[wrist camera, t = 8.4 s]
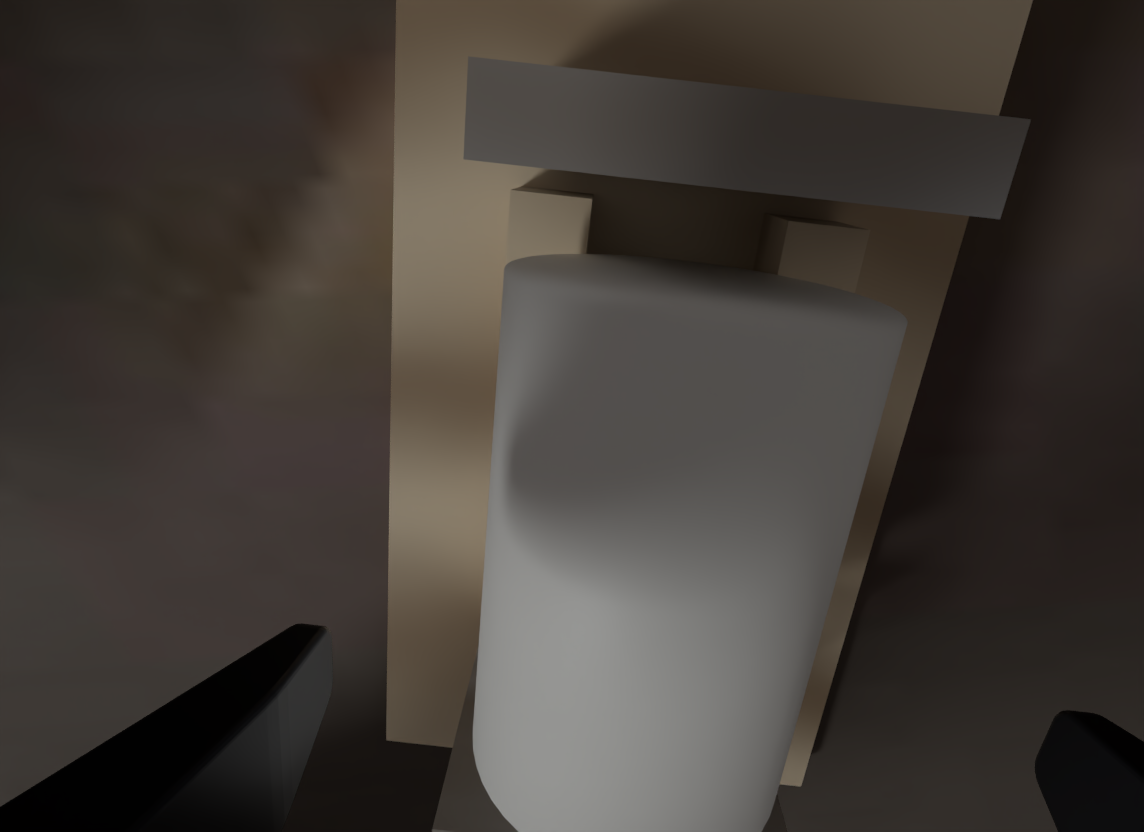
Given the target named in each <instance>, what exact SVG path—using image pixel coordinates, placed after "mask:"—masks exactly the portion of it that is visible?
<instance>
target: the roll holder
mask: <svg viewBox="0 0 1144 832" xmlns="http://www.w3.org/2000/svg"><path fill="white" fill-rule="evenodd" d="M1032 2H1033V0H396V59H395V132H394V205H393V277H392V350H391V423H390V496H389V569H388V642H387V715H386V740H387V741H396V742H405V743H414V744H423V745H432V746H441V747H450V748H452V752H451V756H450V760H449V764H448V768H447V772H446V776H445V780H444V784H443V788H442V792H441V796H440V800H439V804H438V808H437V812H436V816H435V820H434V824H433V828H432V832H518V831H517V830H516V829H515V828H514V827H513V826H512V825H511V824H510V823H509V822H508V821H507V820H506V819H505V817H504V816H503V815H502V814H501V812H500V811H499V810H498V808H497V807H496V806H495V804H494V803H493V801H492V800H491V798H490V796H489V795H488V793H487V791H486V789H485V787H484V785H483V783H482V781H481V778H480V775H479V773H478V770H477V767H476V763H475V757H474V752H473V720H474V705H475V690H476V676H477V661H478V646H479V632H480V617H481V602H482V588H483V573H484V558H485V544H486V529H487V514H488V500H489V485H490V470H491V455H492V441H493V426H494V411H495V397H496V382H497V367H498V353H499V338H500V323H501V309H502V294H503V279H504V268H505V266H506V264H508V263H509V262H511V261H513V260H516V259H520V258H524V257H530V256H538V255H549V254H611V255H628V256H642V257H654V258H665V259H674V260H683V261H692V262H700V263H708V264H715V265H722V266H729V267H735V268H742V269H748V270H754V271H760V272H765V273H770V274H776V275H781V276H786V277H791V278H796V279H800V280H805V281H809V282H814V283H818V284H822V285H826V286H830V287H834V288H838V289H841V290H845V291H848V292H852V293H855V294H858V295H861V296H864V297H867V298H870V299H873V300H875V301H878V302H881V303H883V304H885V305H887V306H890V307H892V308H894V309H895V310H897V311H899V312H900V313H902V314H903V315H904V316H905V317H906V319H907V321H908V324H907V327H906V331H905V334H904V338H903V342H902V345H901V349H900V352H899V356H898V360H897V363H896V367H895V370H894V374H893V378H892V381H891V385H890V388H889V392H888V396H887V399H886V403H885V406H884V410H883V414H882V417H881V421H880V424H879V428H878V432H877V435H876V439H875V442H874V446H873V450H872V453H871V457H870V460H869V464H868V468H867V471H866V475H865V478H864V482H863V486H862V489H861V493H860V496H859V500H858V504H857V507H856V511H855V514H854V518H853V522H852V525H851V529H850V532H849V536H848V540H847V543H846V547H845V550H844V554H843V558H842V561H841V565H840V568H839V572H838V576H837V579H836V583H835V586H834V590H833V594H832V597H831V601H830V604H829V608H828V612H827V615H826V619H825V622H824V626H823V630H822V633H821V637H820V640H819V644H818V648H817V651H816V655H815V658H814V662H813V666H812V669H811V673H810V676H809V680H808V684H807V687H806V691H805V694H804V698H803V702H802V705H801V709H800V712H799V716H798V720H797V723H796V727H795V730H794V734H793V738H792V741H791V745H790V748H789V752H788V756H787V759H786V763H785V766H784V770H783V774H782V777H781V781H780V784H782V785H791V786H800V787H801V785H802V782H803V778H804V775H805V771H806V768H807V765H808V761H809V758H810V754H811V751H812V748H813V744H814V741H815V737H816V734H817V731H818V727H819V724H820V721H821V717H822V714H823V710H824V707H825V704H826V700H827V697H828V693H829V690H830V687H831V683H832V680H833V676H834V673H835V670H836V666H837V663H838V660H839V656H840V653H841V649H842V646H843V643H844V639H845V636H846V632H847V629H848V626H849V622H850V619H851V615H852V612H853V609H854V605H855V602H856V598H857V595H858V592H859V588H860V585H861V582H862V578H863V575H864V571H865V568H866V565H867V561H868V558H869V554H870V551H871V548H872V544H873V541H874V537H875V534H876V531H877V527H878V524H879V521H880V517H881V514H882V510H883V507H884V504H885V500H886V497H887V493H888V490H889V487H890V483H891V480H892V476H893V473H894V470H895V466H896V463H897V460H898V456H899V453H900V449H901V446H902V443H903V439H904V436H905V432H906V429H907V426H908V422H909V419H910V415H911V412H912V409H913V405H914V402H915V399H916V395H917V392H918V388H919V385H920V382H921V378H922V375H923V371H924V368H925V365H926V361H927V358H928V354H929V351H930V348H931V344H932V341H933V337H934V334H935V331H936V327H937V324H938V321H939V317H940V314H941V310H942V307H943V304H944V300H945V297H946V293H947V290H948V287H949V283H950V280H951V276H952V273H953V270H954V266H955V263H956V260H957V256H958V253H959V249H960V246H961V243H962V239H963V236H964V232H965V229H966V226H967V222H968V219H969V216H974V217H983V218H992V219H1000V218H1001V215H1002V212H1003V208H1004V205H1005V202H1006V199H1007V196H1008V192H1009V189H1010V186H1011V183H1012V179H1013V176H1014V173H1015V170H1016V167H1017V163H1018V160H1019V157H1020V154H1021V150H1022V147H1023V144H1024V141H1025V138H1026V134H1027V131H1028V128H1029V125H1030V121H1031V119H1024V118H1015V117H1006V116H999V114H1000V110H1001V107H1002V104H1003V100H1004V97H1005V93H1006V90H1007V87H1008V83H1009V80H1010V76H1011V73H1012V70H1013V66H1014V63H1015V60H1016V56H1017V53H1018V49H1019V46H1020V43H1021V39H1022V36H1023V32H1024V29H1025V26H1026V22H1027V19H1028V15H1029V12H1030V9H1031V5H1032ZM762 832H787V828H786V825H785V821H784V817H783V814H782V810H781V807H780V803H779V800H778V796H777V795H776V799H775V802H774V805H773V808H772V811H771V814H770V817H769V819H768V821H767V823H766V824H765V826H764V828H763V830H762Z"/></svg>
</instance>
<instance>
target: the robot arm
mask: <svg viewBox="0 0 1144 832" xmlns="http://www.w3.org/2000/svg"><path fill="white" fill-rule="evenodd" d="M332 684H333V662H332V635H331V632H330V630H329V629H328V628H327V627H325V626H318V625H310V624H295V625H293V626H291V627H289V628H288V629H286V630H284V631H283V632H281V633H280V634H278V635H276V636H275V637H273V638H272V639H270V640H268V641H267V642H265V643H263V644H262V645H260V646H259V647H257V648H255V649H254V650H252V651H251V652H249V653H247V654H246V655H244V656H242V657H241V658H239V659H238V660H236V661H234V662H233V663H231V664H230V665H228V666H226V667H225V668H223V669H222V670H220V671H218V672H217V673H215V674H213V675H212V676H210V677H209V678H207V679H205V680H204V681H202V682H201V683H199V684H197V685H196V686H194V687H193V688H191V689H189V690H188V691H186V692H184V693H183V694H181V695H180V696H178V697H176V698H175V699H173V700H172V701H170V702H168V703H167V704H165V705H164V706H162V707H160V708H159V709H157V710H155V711H154V712H152V713H151V714H149V715H147V716H146V717H144V718H143V719H141V720H139V721H138V722H136V723H135V724H133V725H131V726H130V727H128V728H126V729H125V730H123V731H122V732H120V733H118V734H117V735H115V736H114V737H112V738H110V739H109V740H107V741H105V742H104V743H102V744H101V745H99V746H97V747H96V748H94V749H93V750H91V751H89V752H88V753H86V754H85V755H83V756H81V757H80V758H78V759H76V760H75V761H73V762H72V763H70V764H68V765H67V766H65V767H64V768H62V769H60V770H59V771H57V772H56V773H54V774H52V775H51V776H49V777H47V778H46V779H44V780H43V781H41V782H39V783H38V784H36V785H35V786H33V787H31V788H30V789H28V790H27V791H25V792H23V793H22V794H20V795H18V796H17V797H15V798H14V799H12V800H10V801H9V802H7V803H6V804H4V805H2V806H1V807H0V832H281V830H282V828H283V826H284V824H285V821H286V819H287V816H288V813H289V811H290V808H291V805H292V803H293V800H294V797H295V795H296V792H297V789H298V786H299V783H300V781H301V778H302V775H303V772H304V769H305V767H306V764H307V761H308V758H309V755H310V753H311V750H312V747H313V744H314V741H315V739H316V736H317V733H318V730H319V727H320V724H321V722H322V719H323V716H324V713H325V710H326V708H327V705H328V702H329V699H330V695H331V691H332ZM1035 774H1036V778H1037V782H1038V784H1039V787H1040V789H1041V792H1042V794H1043V796H1044V799H1045V801H1046V804H1047V806H1048V808H1049V811H1050V813H1051V815H1052V818H1053V820H1054V823H1055V825H1056V827H1057V830H1058V832H1144V742H1143V741H1142V740H1140V739H1138V738H1137V737H1135V736H1134V735H1132V734H1130V733H1129V732H1127V731H1126V730H1124V729H1122V728H1121V727H1119V726H1117V725H1116V724H1114V723H1113V722H1111V721H1109V720H1108V719H1106V718H1104V717H1103V716H1101V715H1098V714H1094V713H1088V712H1079V711H1070V710H1066V711H1061V712H1060V713H1059V714H1057V715H1056V716H1055V718H1054V719H1053V721H1052V724H1051V726H1050V728H1049V730H1048V733H1047V735H1046V737H1045V739H1044V741H1043V744H1042V746H1041V748H1040V750H1039V753H1038V755H1037V757H1036V761H1035Z"/></svg>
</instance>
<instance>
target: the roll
mask: <svg viewBox="0 0 1144 832" xmlns="http://www.w3.org/2000/svg"><path fill="white" fill-rule="evenodd" d="M907 324H908V321H907V319H906V317H905V316H904V315H903V314H902V313H900V312H899V311H897V310H895V309H894V308H892V307H890V306H887V305H885V304H883V303H881V302H878V301H875V300H873V299H870V298H867V297H864V296H861V295H858V294H855V293H852V292H848V291H845V290H841V289H838V288H834V287H830V286H826V285H822V284H818V283H814V282H809V281H805V280H800V279H796V278H791V277H786V276H781V275H776V274H770V273H765V272H760V271H754V270H748V269H742V268H735V267H729V266H722V265H715V264H708V263H700V262H692V261H683V260H674V259H665V258H654V257H642V256H628V255H611V254H549V255H538V256H530V257H524V258H520V259H516V260H513V261H511V262H509V263H508V264H506V266H505V268H504V279H503V294H502V309H501V323H500V338H499V353H498V367H497V382H496V397H495V411H494V426H493V441H492V455H491V470H490V485H489V500H488V514H487V529H486V544H485V558H484V573H483V588H482V602H481V617H480V632H479V646H478V661H477V676H476V690H475V705H474V720H473V752H474V757H475V763H476V767H477V770H478V773H479V775H480V778H481V781H482V783H483V785H484V787H485V789H486V791H487V793H488V795H489V796H490V798H491V800H492V801H493V803H494V804H495V806H496V807H497V808H498V810H499V811H500V812H501V814H502V815H503V816H504V817H505V819H506V820H507V821H508V822H509V823H510V824H511V825H512V826H513V827H514V828H515V829H516V830H517V831H518V832H762V830H763V828H764V826H765V824H766V823H767V821H768V819H769V817H770V814H771V811H772V808H773V805H774V802H775V799H776V795H777V792H778V788H779V784H780V781H781V777H782V774H783V770H784V766H785V763H786V759H787V756H788V752H789V748H790V745H791V741H792V738H793V734H794V730H795V727H796V723H797V720H798V716H799V712H800V709H801V705H802V702H803V698H804V694H805V691H806V687H807V684H808V680H809V676H810V673H811V669H812V666H813V662H814V658H815V655H816V651H817V648H818V644H819V640H820V637H821V633H822V630H823V626H824V622H825V619H826V615H827V612H828V608H829V604H830V601H831V597H832V594H833V590H834V586H835V583H836V579H837V576H838V572H839V568H840V565H841V561H842V558H843V554H844V550H845V547H846V543H847V540H848V536H849V532H850V529H851V525H852V522H853V518H854V514H855V511H856V507H857V504H858V500H859V496H860V493H861V489H862V486H863V482H864V478H865V475H866V471H867V468H868V464H869V460H870V457H871V453H872V450H873V446H874V442H875V439H876V435H877V432H878V428H879V424H880V421H881V417H882V414H883V410H884V406H885V403H886V399H887V396H888V392H889V388H890V385H891V381H892V378H893V374H894V370H895V367H896V363H897V360H898V356H899V352H900V349H901V345H902V342H903V338H904V334H905V331H906V327H907Z"/></svg>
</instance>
